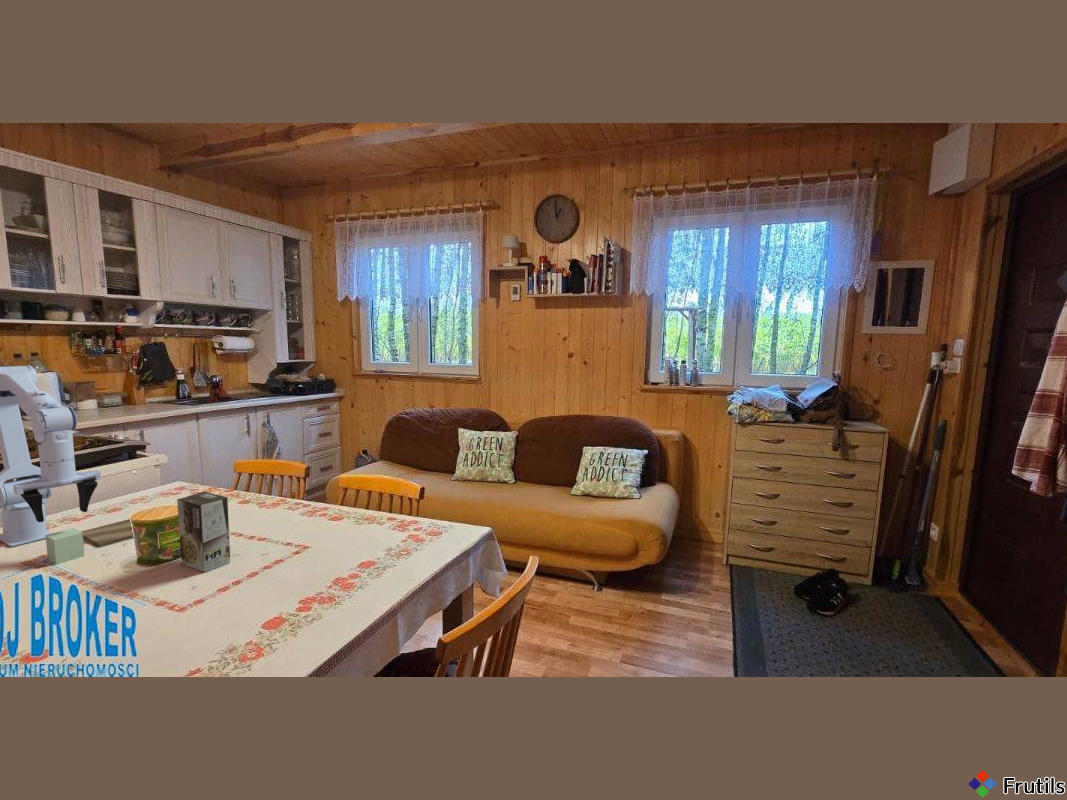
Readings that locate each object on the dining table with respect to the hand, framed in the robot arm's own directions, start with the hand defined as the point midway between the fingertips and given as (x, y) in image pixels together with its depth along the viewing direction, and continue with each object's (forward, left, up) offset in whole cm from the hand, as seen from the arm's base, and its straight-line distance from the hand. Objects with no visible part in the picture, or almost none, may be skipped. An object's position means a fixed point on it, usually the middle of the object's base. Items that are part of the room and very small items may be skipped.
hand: (62, 515), depth 113 cm
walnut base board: (-7, +13, -10) cm, 18 cm away
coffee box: (+29, +16, -11) cm, 35 cm away
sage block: (0, 0, -10) cm, 10 cm away
